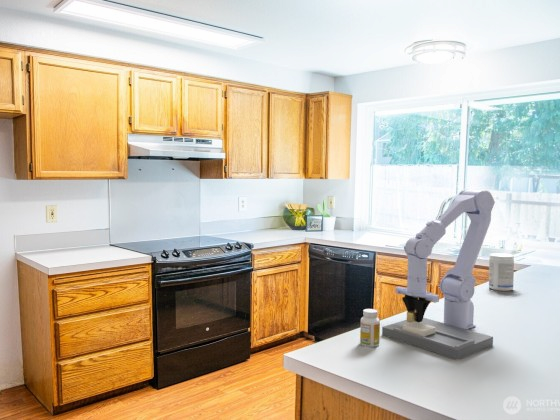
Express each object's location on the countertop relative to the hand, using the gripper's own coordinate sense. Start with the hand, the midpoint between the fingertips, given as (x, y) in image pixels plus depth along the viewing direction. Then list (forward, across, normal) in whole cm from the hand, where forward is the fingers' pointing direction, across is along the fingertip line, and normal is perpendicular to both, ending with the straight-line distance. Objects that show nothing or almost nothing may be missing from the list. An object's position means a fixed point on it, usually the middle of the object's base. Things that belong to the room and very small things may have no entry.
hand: (415, 320), depth 148 cm
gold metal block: (+1, 0, -1) cm, 1 cm away
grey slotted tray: (+3, +8, -2) cm, 9 cm away
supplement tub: (+3, -12, +77) cm, 78 cm away
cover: (0, +6, -7) cm, 9 cm away
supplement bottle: (+3, -1, -20) cm, 20 cm away
